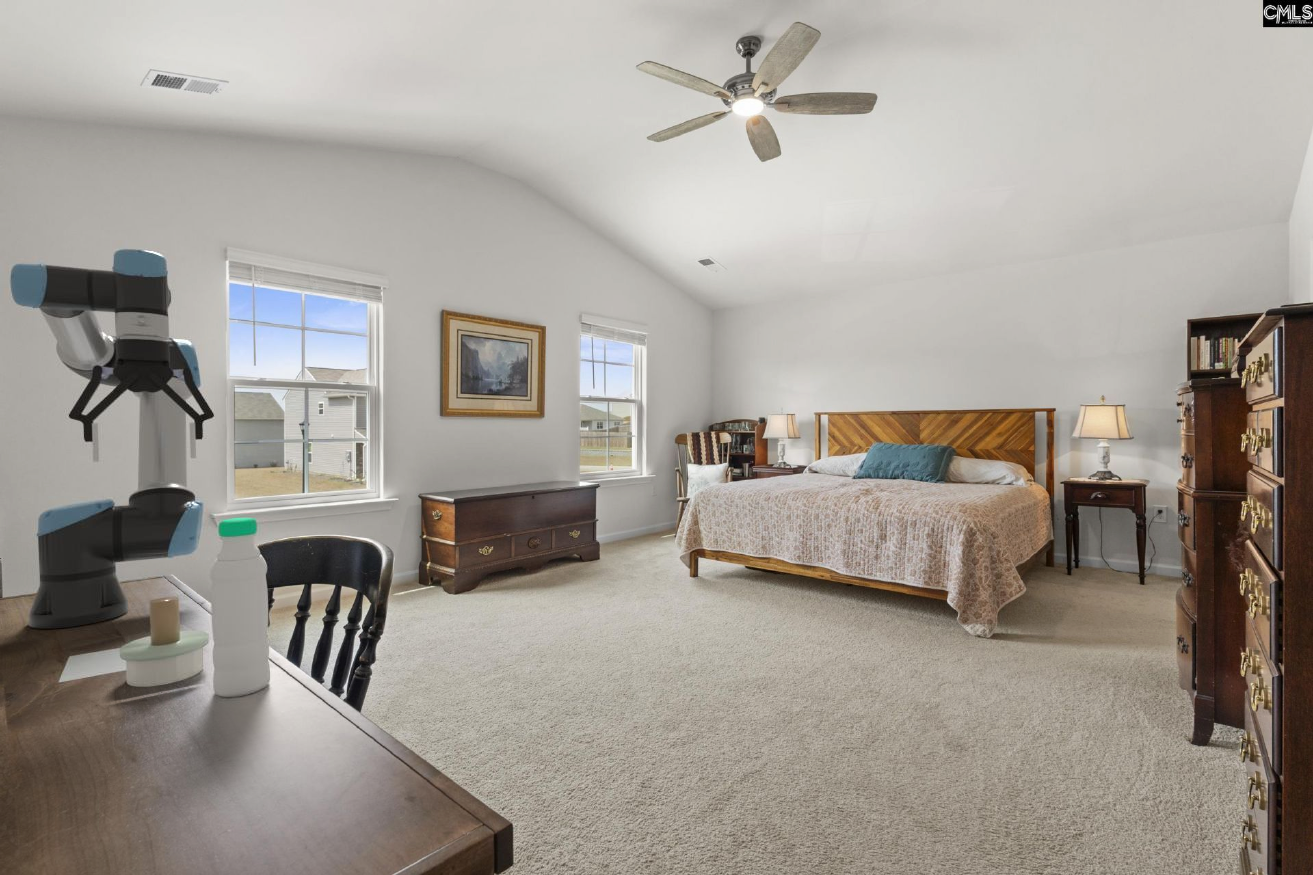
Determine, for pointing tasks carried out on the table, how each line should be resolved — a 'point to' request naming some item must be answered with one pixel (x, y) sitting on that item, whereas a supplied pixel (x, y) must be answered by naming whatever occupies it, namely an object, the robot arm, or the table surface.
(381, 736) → the table surface
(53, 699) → the table surface
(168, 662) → the bowl
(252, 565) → the water bottle
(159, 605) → the lid
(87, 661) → the mat
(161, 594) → the table surface
